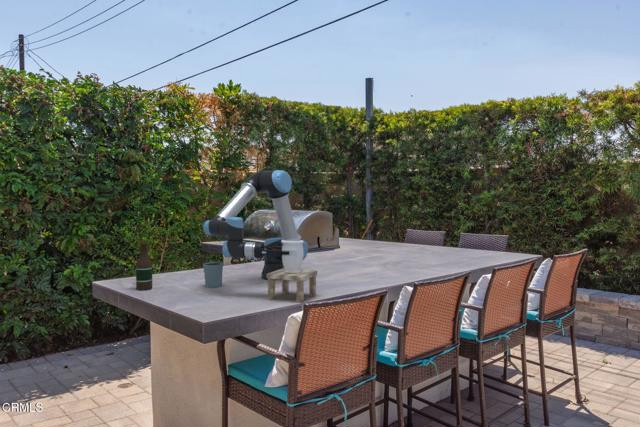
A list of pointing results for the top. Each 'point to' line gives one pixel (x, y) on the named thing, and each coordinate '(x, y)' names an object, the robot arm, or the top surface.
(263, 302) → the top surface
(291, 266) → the jar
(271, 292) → the stool
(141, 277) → the beer bottle
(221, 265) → the teal plant pot
